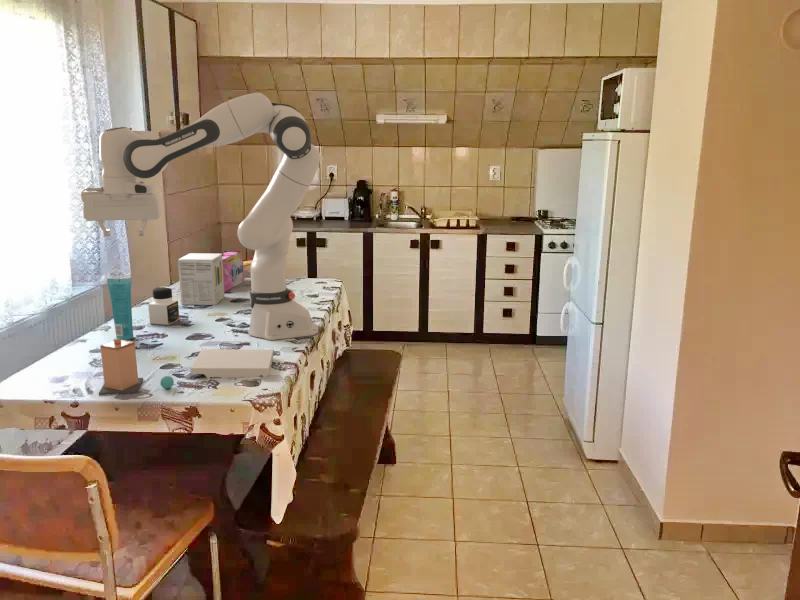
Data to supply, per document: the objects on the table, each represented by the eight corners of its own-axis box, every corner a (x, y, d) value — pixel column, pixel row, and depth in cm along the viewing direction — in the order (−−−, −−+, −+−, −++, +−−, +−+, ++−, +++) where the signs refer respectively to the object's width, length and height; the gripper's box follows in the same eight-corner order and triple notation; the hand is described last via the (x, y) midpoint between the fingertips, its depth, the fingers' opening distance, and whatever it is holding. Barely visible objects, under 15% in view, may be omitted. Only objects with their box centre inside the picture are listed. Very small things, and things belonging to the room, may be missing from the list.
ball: (174, 385, 169) (173, 373, 168) (173, 390, 166) (172, 378, 165) (161, 386, 168) (160, 374, 168) (160, 390, 165) (159, 378, 165)
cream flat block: (273, 360, 190) (202, 360, 188) (273, 349, 190) (201, 349, 188) (268, 380, 176) (191, 380, 174) (268, 368, 175) (190, 368, 173)
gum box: (222, 293, 266) (220, 260, 262) (204, 293, 267) (201, 260, 264) (244, 281, 289) (243, 250, 285) (227, 280, 290) (225, 249, 287)
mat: (143, 379, 173) (143, 377, 173) (137, 392, 164) (137, 390, 164) (106, 382, 171) (106, 380, 171) (98, 395, 162) (98, 393, 162)
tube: (139, 335, 210) (133, 276, 205) (134, 340, 205) (129, 280, 201) (114, 336, 209) (108, 277, 204) (109, 341, 204) (103, 280, 200)
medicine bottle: (168, 325, 221) (165, 290, 219) (149, 324, 223) (146, 289, 220) (179, 319, 228) (177, 286, 225) (161, 318, 230) (158, 284, 227)
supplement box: (215, 305, 248) (212, 259, 244) (180, 304, 248) (177, 259, 244) (225, 296, 261) (222, 253, 256) (192, 296, 261) (189, 252, 257)
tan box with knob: (122, 379, 171) (117, 334, 168) (138, 382, 169) (134, 337, 166) (104, 386, 166) (99, 340, 163) (121, 390, 164) (116, 343, 161)
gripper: (77, 188, 180) (83, 238, 183) (156, 187, 184) (160, 236, 188) (82, 186, 186) (88, 235, 189) (159, 185, 190) (163, 233, 194)
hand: (124, 235), depth 189 cm, fingers open, 8 cm apart
